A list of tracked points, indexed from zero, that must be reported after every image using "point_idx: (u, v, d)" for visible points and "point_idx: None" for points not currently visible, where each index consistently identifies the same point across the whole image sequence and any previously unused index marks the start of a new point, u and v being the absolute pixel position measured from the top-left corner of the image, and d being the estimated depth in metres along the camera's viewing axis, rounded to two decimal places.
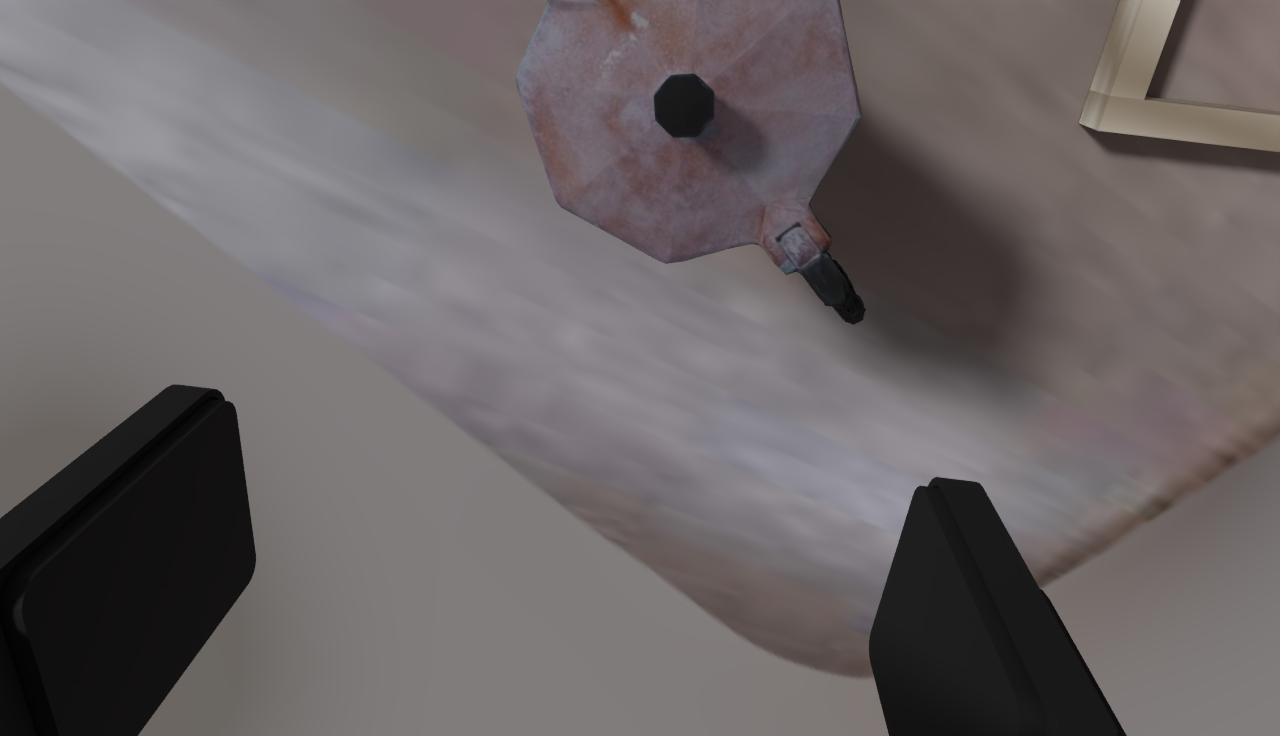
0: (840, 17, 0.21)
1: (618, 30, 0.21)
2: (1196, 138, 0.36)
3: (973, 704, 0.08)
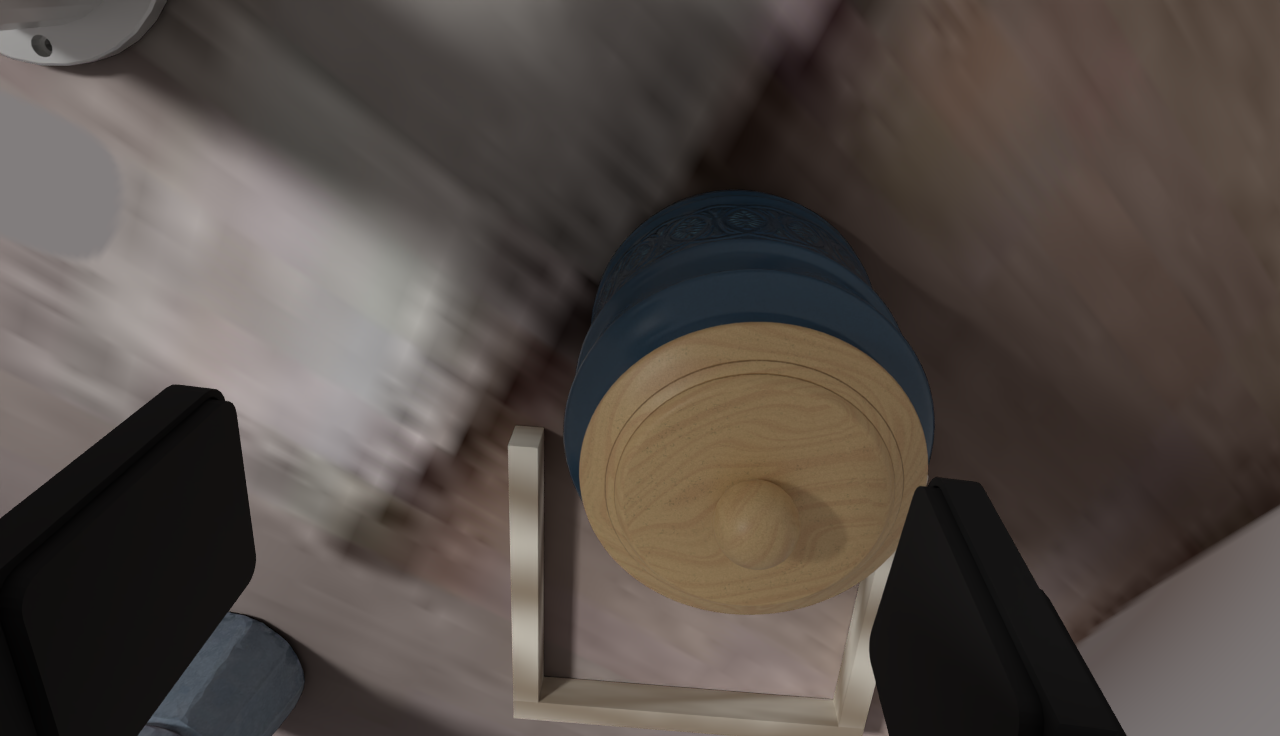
0: None
1: None
2: (585, 721, 0.49)
3: (973, 704, 0.08)
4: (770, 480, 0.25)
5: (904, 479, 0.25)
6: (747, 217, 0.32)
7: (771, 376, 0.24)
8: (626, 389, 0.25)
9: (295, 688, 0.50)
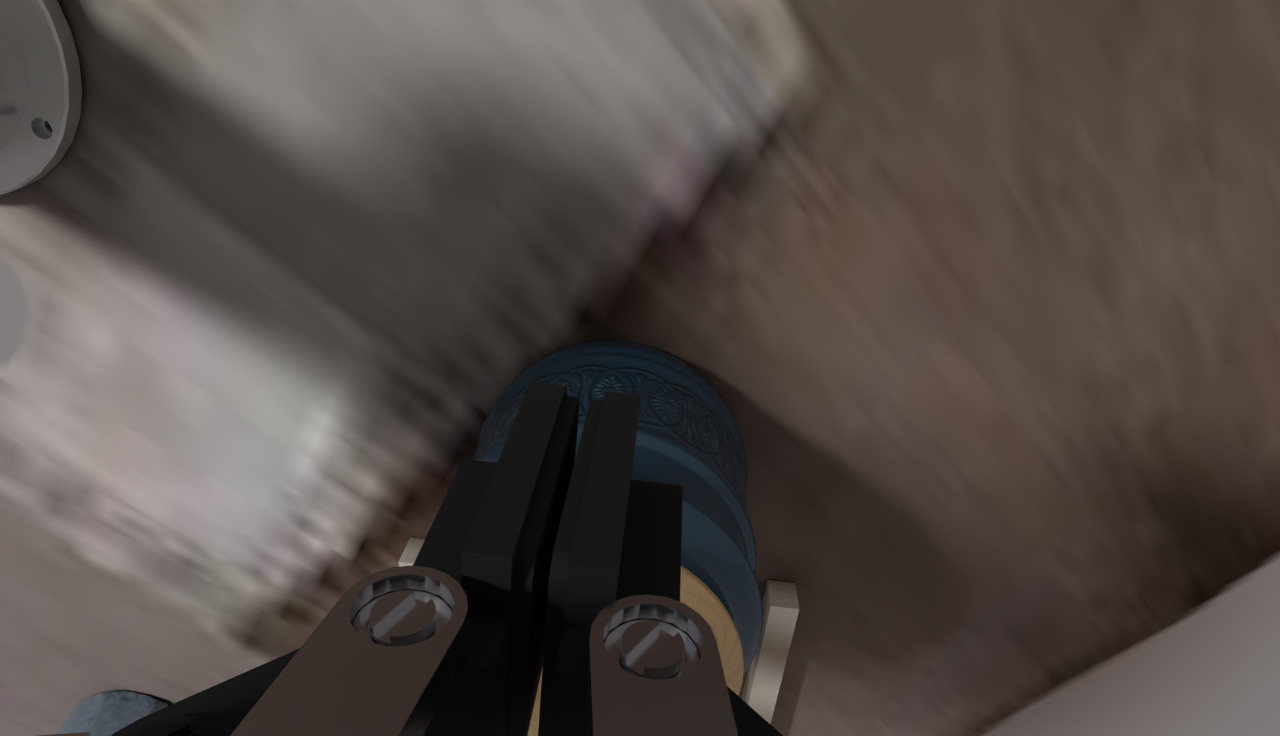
0: None
1: None
2: None
3: None
4: None
5: None
6: (612, 386, 0.33)
7: None
8: None
9: None
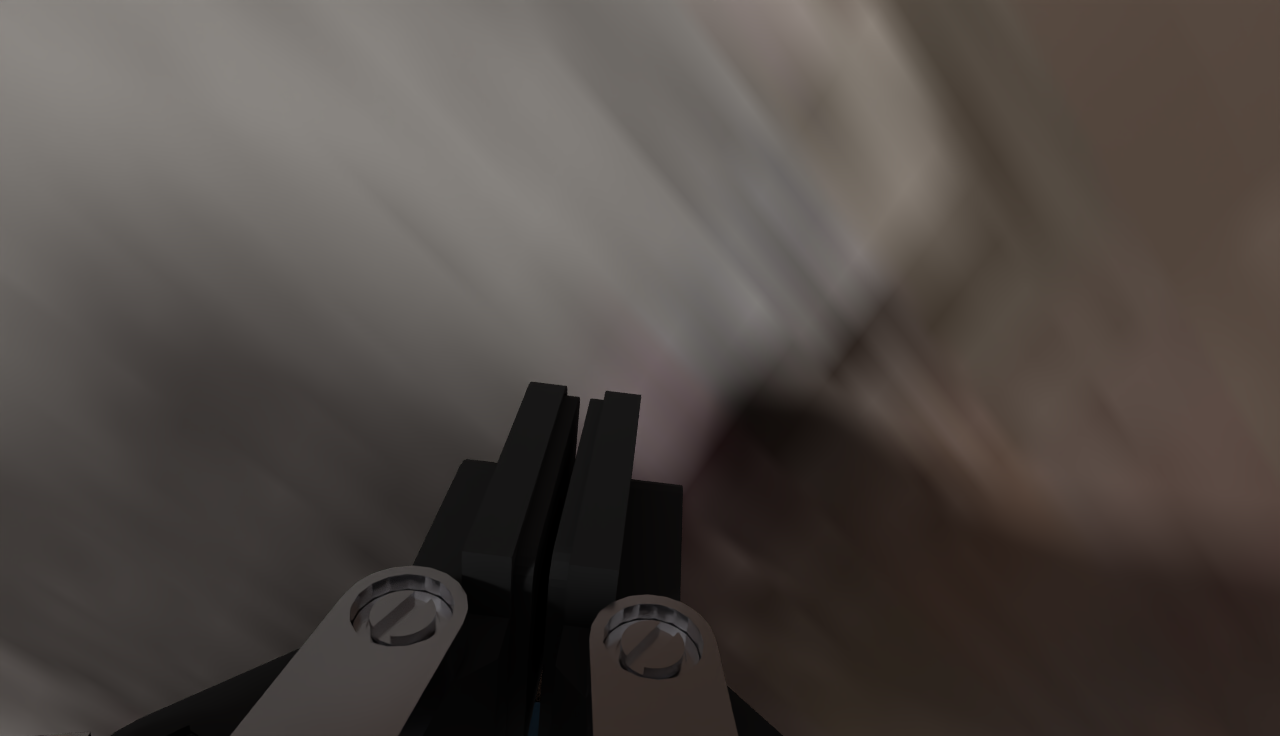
0: None
1: None
2: None
3: None
4: None
5: None
6: None
7: None
8: None
9: None
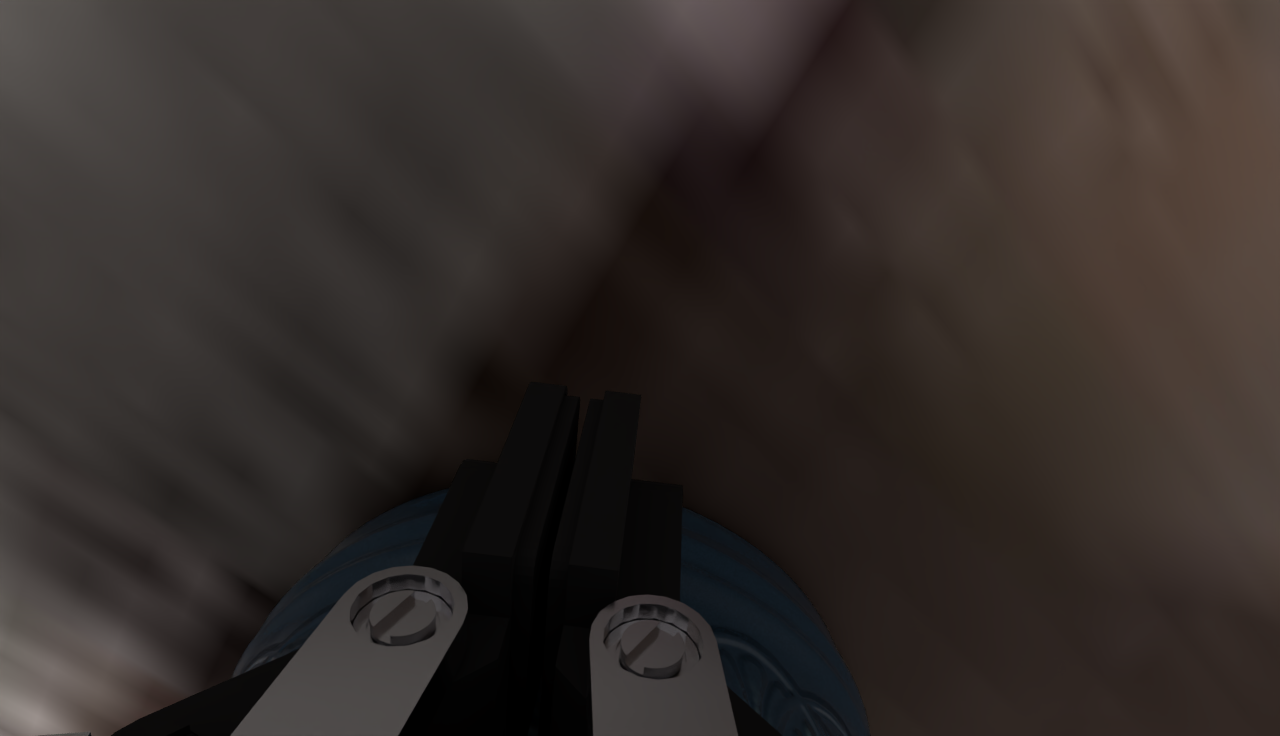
0: None
1: None
2: None
3: None
4: None
5: None
6: None
7: None
8: None
9: None
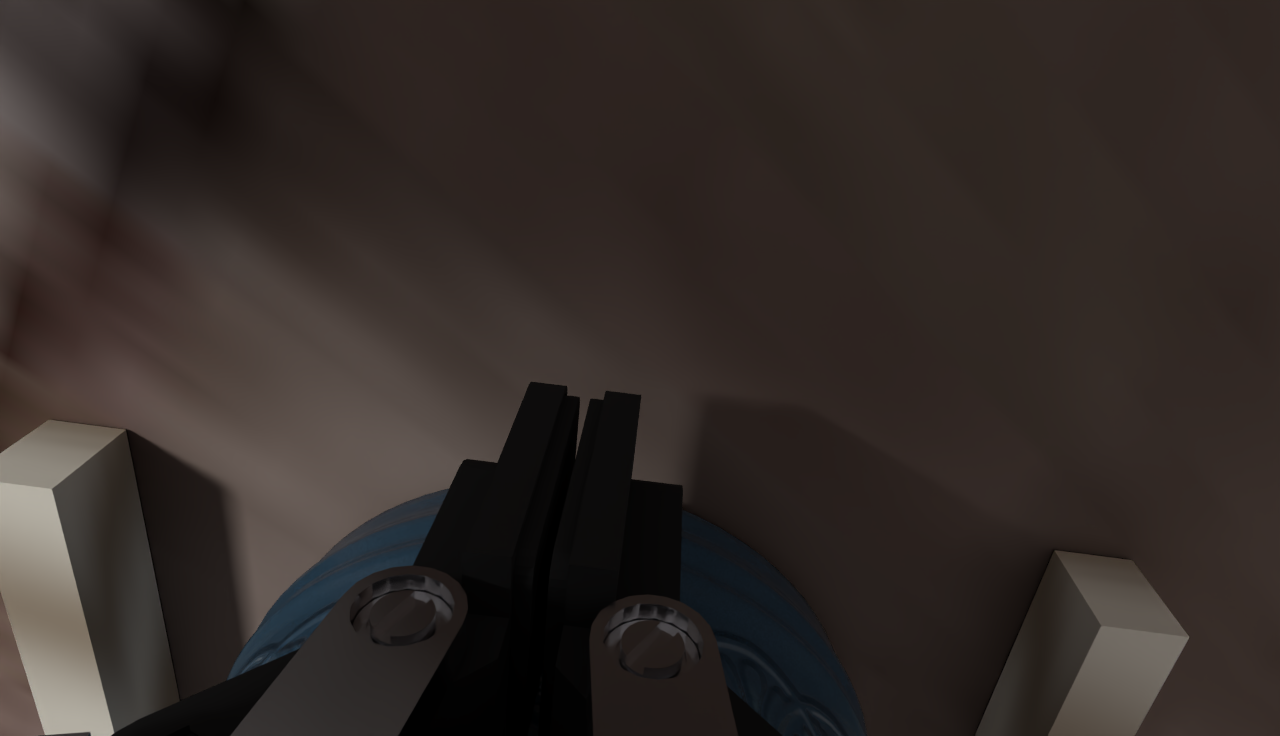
0: None
1: None
2: None
3: None
4: None
5: None
6: None
7: None
8: None
9: None
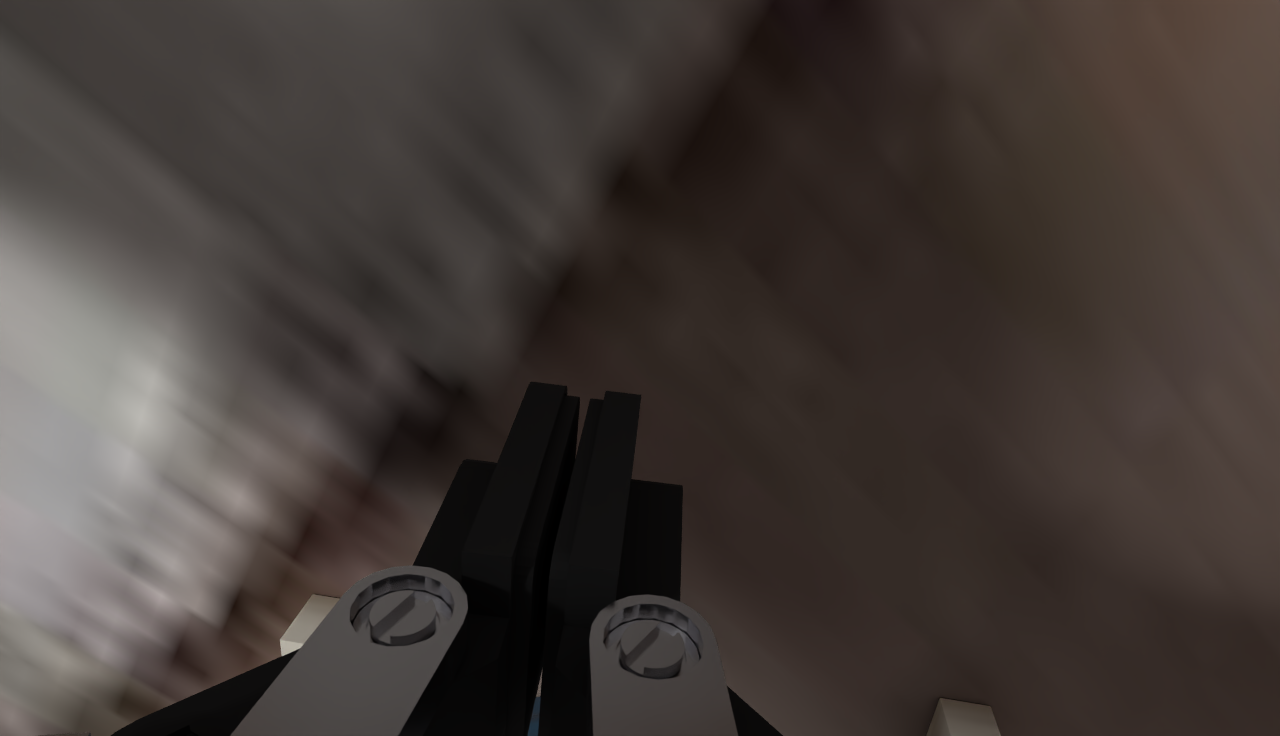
0: None
1: None
2: None
3: None
4: None
5: None
6: None
7: None
8: None
9: None
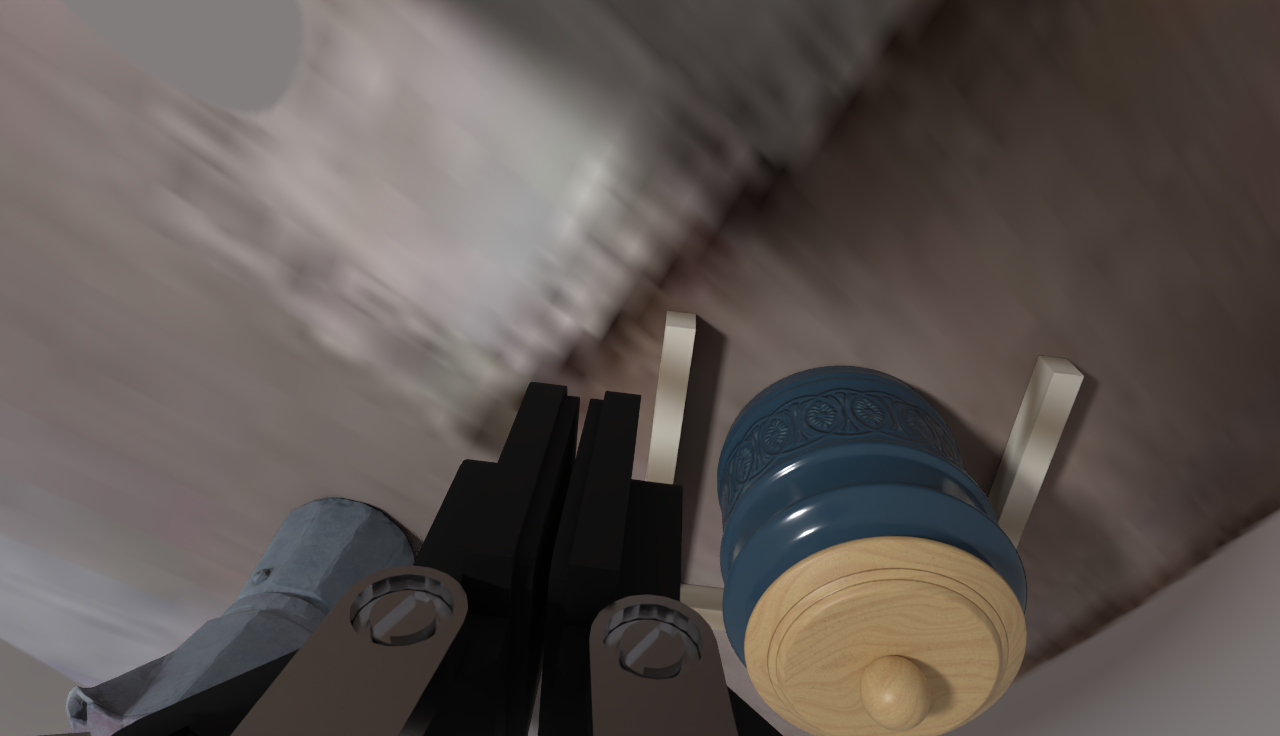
0: None
1: None
2: None
3: None
4: (905, 656, 0.32)
5: (1008, 658, 0.32)
6: (870, 408, 0.38)
7: (916, 582, 0.30)
8: (796, 579, 0.31)
9: None
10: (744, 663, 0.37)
